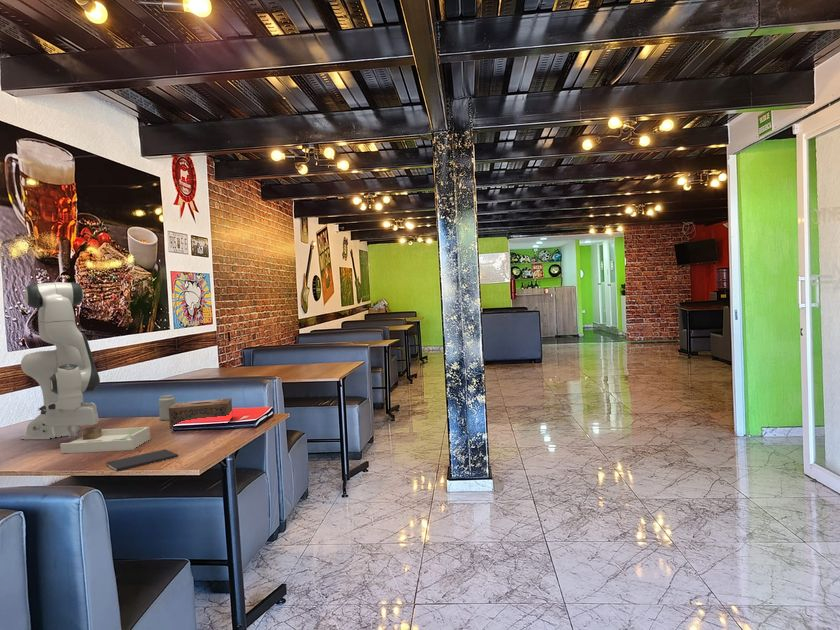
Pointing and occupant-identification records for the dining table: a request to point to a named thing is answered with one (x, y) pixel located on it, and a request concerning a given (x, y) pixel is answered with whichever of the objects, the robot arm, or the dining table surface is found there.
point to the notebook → (140, 460)
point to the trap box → (109, 441)
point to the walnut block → (91, 433)
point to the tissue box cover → (199, 410)
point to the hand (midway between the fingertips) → (73, 436)
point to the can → (165, 406)
